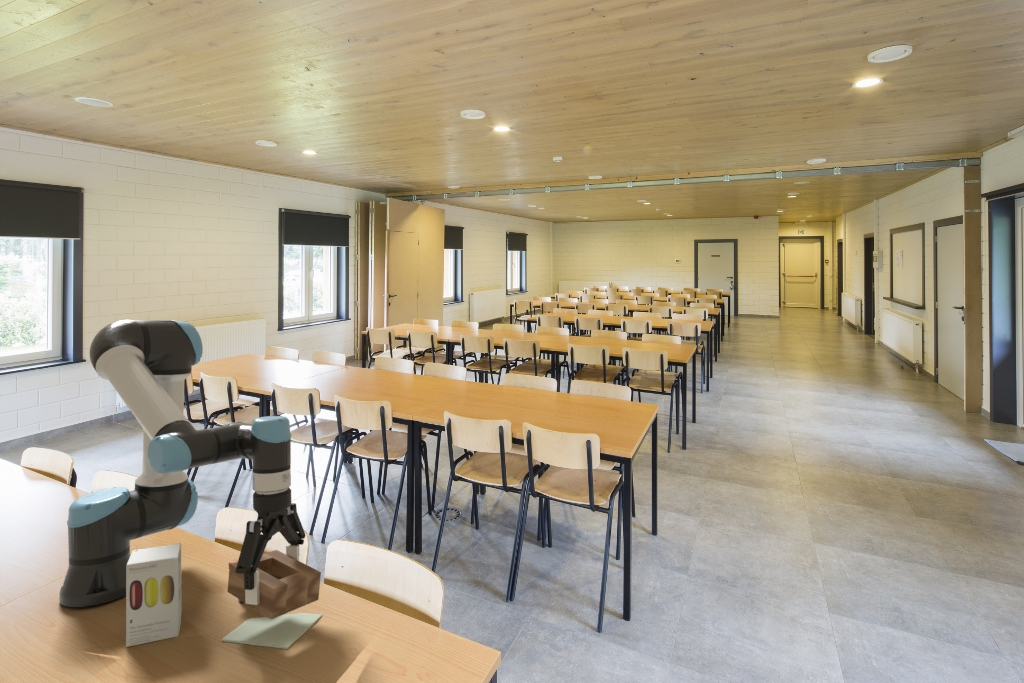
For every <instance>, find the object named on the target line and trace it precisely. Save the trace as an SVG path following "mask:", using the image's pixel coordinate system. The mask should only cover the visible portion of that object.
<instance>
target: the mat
mask: <svg viewBox="0 0 1024 683" xmlns="http://www.w3.org/2000/svg"><path fill="white" fill-rule="evenodd" d="M321 617H323V614H319V613H317V614H316V613H309V612H298V613H297V612H296V613H289V614H288V613H286V614H283V615H281V616H279V617H276V618H274V619H270V618H268V617H267V616H262V617H261V616H260V617H254V618H253V617H250V618H247V619H246V620H244V621H243V622H242V623H241V624H240V625H238V626H237V627H236V628H234V629H233V630H231V631H230V632H229V633H228V634H226V635H224V637H222V638H221V642H225V643H226V642H227V643H235V644H244V645H251V646H259V647H268V648H277V649H285V650H288V649H289V648H290V647H291V646H292V645H293V644H294V643H295V642H296V641H297V640H299V639H300V638H301V637H302V636H303V635H304V634H305V633H306V632H307V631H308V630H310V629H311V627H312V626H313V625H315V624H316V623H317V622H318V621H319V620H320V619H321Z"/></svg>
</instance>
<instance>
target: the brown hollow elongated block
mask: <svg viewBox="0 0 1024 683" xmlns="http://www.w3.org/2000/svg"><path fill="white" fill-rule="evenodd" d="M237 563H238V562H235V563H232V564H230V568H229V567H228V569H229V570H228V579H227V580H228V583H227V593H229V594H230V595H231V596H233V597H235V598H237V600H238V599H240V600H241V601H243V602H244V603H243V604H245V588H244V574H239V573H236V567H237ZM251 567H252V566H251ZM256 571H259V587H260V603H259V604H258V605H253V604H247V605H248V606H249V607H251V608H253V610H256V611H258V612H259V613H261V615H262V614H263V615H264V617H268V618H270V619H274V618H276V617H279V616H281V615H287V614H288V613H291V612H292V611H295V610H298V609H299V608H302V607H305V606H306V605H310V604H312V603H314V602H317V601H319V597H320V596H319V595H320V587H321V586H320V585H321V575H322V572H321V571H319V570H318V569H316V568H314V567H311V566H309V565H307V564H306V563H303V562H302V561H300V560H299V561H298V560H296V559H294V558H292V557H290V556H288V555H286V553H284V552H282V551H280V550H278V549H275V550H272V551H268V552H265V553H263V555H262V557H261V560H260V562H259V565H258V567H257V570H256Z"/></svg>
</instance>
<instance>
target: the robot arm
mask: <svg viewBox="0 0 1024 683" xmlns="http://www.w3.org/2000/svg"><path fill="white" fill-rule="evenodd" d="M203 349H204V348H203V341H202V337H201V335H200V333H199V331H198V330H197V328H196V327H195V326H194V325H192V323H190V322H187V321H183V320H173V319H151V320H150V319H149V320H148V319H120V320H117V321H114V322H111V323H109V324H107V325H106V326H104V327H102V328H101V329H100V330H98V332H97V333H96V335H94V337H93V339H92V341H91V344H90V347H89V360H90V363H91V366H92V368H93V369H94V371H95V372H96V374H98V376H99V377H100V378H101V379H103V380H107V381H109V383H110V384H111V386H112V387H113V388H114V389H115V392H116V393H117V394H118V396H119V397H120V398H121V400H122V401H123V402H124V404H125V405H126V406H127V408H128V410H130V413H132V415H133V416H134V418H135V419H136V420H137V422H138V423H139V425H140V426H141V428H142V429H143V433H142V434H143V438H142V439H143V440H142V444H143V445H142V469H141V470H142V473H141V474H140V475H139V476H138V477H137V478H136V479H135V480H134V489H133V490H131V491H130V490H129V489H128V488H127V487H123V486H117V487H110V488H103V489H99V490H96V491H92V492H89V493H87V494H85V495H82V496H80V497H78V498H76V499H75V500H74V501H73V502H72V503H70V505H69V507H68V516H67V521H66V524H67V530H68V532H67V535H68V537H67V538H68V568H67V571H66V574H65V576H64V580H63V582H62V586H61V588H60V590H59V603H60V604H61V605H62V606H64V607H70V608H83V607H90V606H91V607H92V606H97V605H100V604H105V603H108V602H112V601H116V600H118V599H121V598H123V597H126V565H127V563H128V560H129V558H130V556H131V542H130V541H133V540H136V539H139V538H143V537H146V536H150V535H154V534H158V533H161V532H165V531H170V530H174V529H175V528H177V527H180V526H183V525H185V524H187V523H188V522H190V520H191V519H192V518H193V517H194V515H195V514H196V511H197V508H198V501H199V496H198V491H197V486H196V485H195V483H194V482H193V480H191V479H189V475H188V474H187V473H186V472H185V471H186V470H189V469H194V468H200V467H204V466H208V465H214V464H220V463H223V462H229V461H233V460H237V459H238V460H239V459H246V460H251V462H252V490H253V491H254V492H253V493H252V503H253V504H252V509H253V511H255V512H256V513H257V518H256V520H248V521H247V522H246V528H245V536H244V540H243V543H242V546H241V548H240V549H241V550H240V553H239V556H238V559H237V560H238V563H237V567H236V573H239V574H244V588H245V603H244V604H245V605H248V604H253V605H258V604H259V603H260V587H259V571H256V570H257V567H258V565H259V562H260V560H261V557H262V555H263V554H264V552H265V549H266V547H267V545H268V542H270V541H271V540H272V538H273V537H274V535H276V534H277V533H280V534H281V535H282V537H283V538H284V540H285V542H287V545H286V546H285V550H286V551H285V554H286V555H288V556H290V557H292V558H294V559H296V560H298V561H300V545H304V543H305V540H304V539H305V538H306V532H305V530H304V527H303V525H302V522H301V520H300V516H299V513H298V512H297V510H298V509H297V503H295V502H294V503H293V502H292V489H291V488H290V487H291V485H292V480H291V479H292V478H291V477H292V475H291V468H292V466H291V464H292V463H291V462H292V460H291V459H292V457H291V455H292V454H291V451H292V450H291V448H292V447H291V445H292V444H291V443H292V441H291V439H292V438H291V437H292V432H291V425H290V420H289V418H287V417H286V416H283V415H267V416H261V417H256V418H254V419H253V420H252V422H251V423H246V422H242V421H236V422H233V421H232V422H226V423H225V424H223V425H221V426H215V427H211V428H203V429H201V428H200V429H196V428H195V427H194V426H193V424H191V422H190V421H189V420H188V418H187V417H186V416H185V414H184V411H185V410H184V409H185V408H184V407H185V406H184V403H185V380H186V379H187V378H188V377H189V376H190V375H192V366H195V365H197V364H199V363H200V361H201V358H202V357H203V353H204V352H203V351H204V350H203ZM251 566H252V567H251Z"/></svg>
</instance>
